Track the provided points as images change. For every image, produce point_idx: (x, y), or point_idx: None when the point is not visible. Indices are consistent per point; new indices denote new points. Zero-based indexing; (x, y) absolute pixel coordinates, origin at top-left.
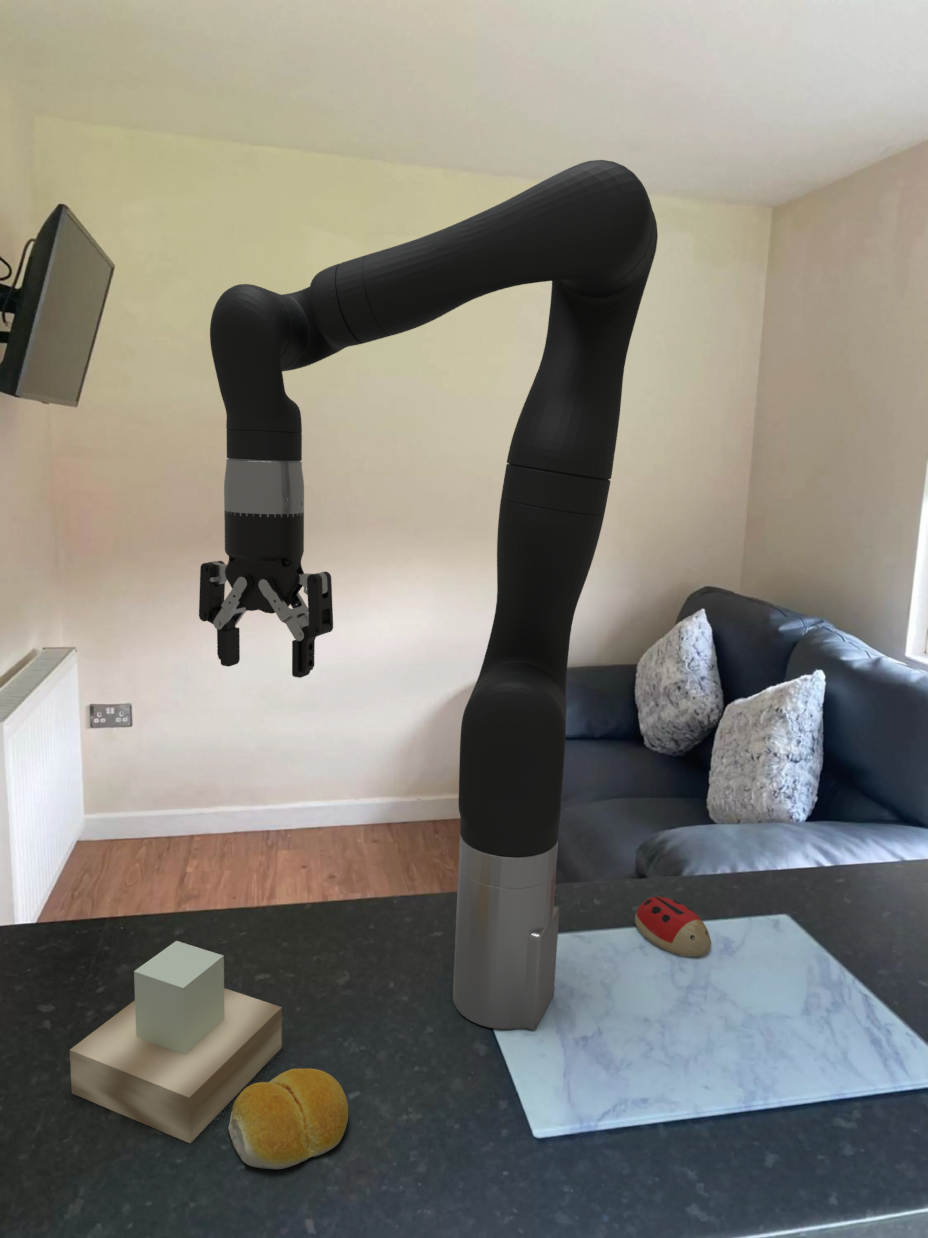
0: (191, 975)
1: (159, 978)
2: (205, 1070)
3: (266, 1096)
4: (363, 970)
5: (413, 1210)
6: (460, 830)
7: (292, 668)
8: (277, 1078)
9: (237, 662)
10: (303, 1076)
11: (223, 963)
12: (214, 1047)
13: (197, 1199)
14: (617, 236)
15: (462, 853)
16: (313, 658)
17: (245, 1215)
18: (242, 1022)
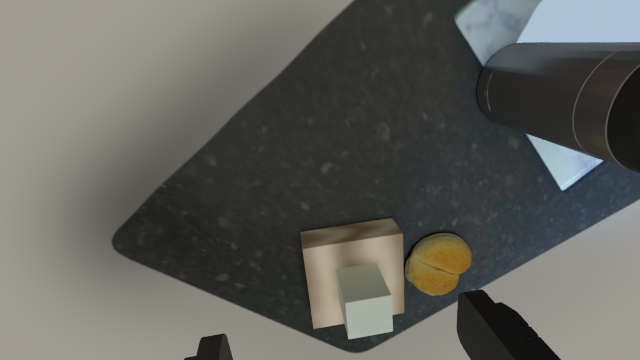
0: (387, 321)
1: (370, 334)
2: (398, 296)
3: (439, 287)
4: (394, 113)
5: (515, 260)
6: (614, 149)
7: (470, 356)
8: (425, 261)
9: (226, 339)
10: (446, 261)
11: (389, 291)
12: (388, 282)
13: (419, 308)
14: None
15: (600, 154)
16: (530, 331)
17: (444, 302)
18: (389, 258)
